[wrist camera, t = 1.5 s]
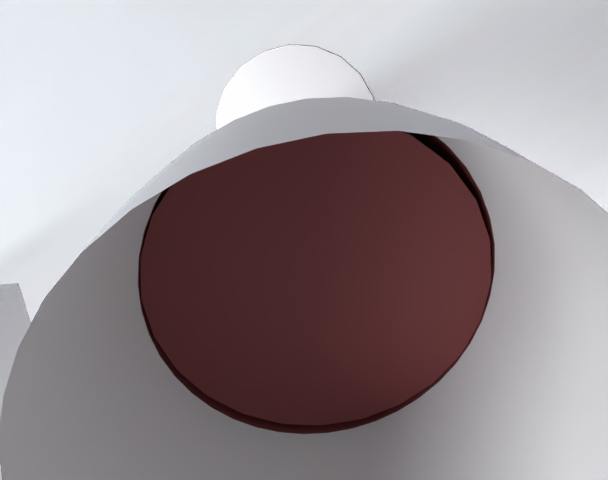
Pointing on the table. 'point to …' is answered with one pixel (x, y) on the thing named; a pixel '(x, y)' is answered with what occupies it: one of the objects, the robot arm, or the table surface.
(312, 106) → the wineglass
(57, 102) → the table surface
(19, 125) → the table surface
